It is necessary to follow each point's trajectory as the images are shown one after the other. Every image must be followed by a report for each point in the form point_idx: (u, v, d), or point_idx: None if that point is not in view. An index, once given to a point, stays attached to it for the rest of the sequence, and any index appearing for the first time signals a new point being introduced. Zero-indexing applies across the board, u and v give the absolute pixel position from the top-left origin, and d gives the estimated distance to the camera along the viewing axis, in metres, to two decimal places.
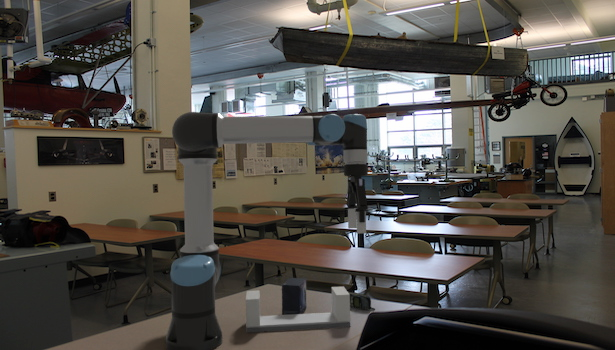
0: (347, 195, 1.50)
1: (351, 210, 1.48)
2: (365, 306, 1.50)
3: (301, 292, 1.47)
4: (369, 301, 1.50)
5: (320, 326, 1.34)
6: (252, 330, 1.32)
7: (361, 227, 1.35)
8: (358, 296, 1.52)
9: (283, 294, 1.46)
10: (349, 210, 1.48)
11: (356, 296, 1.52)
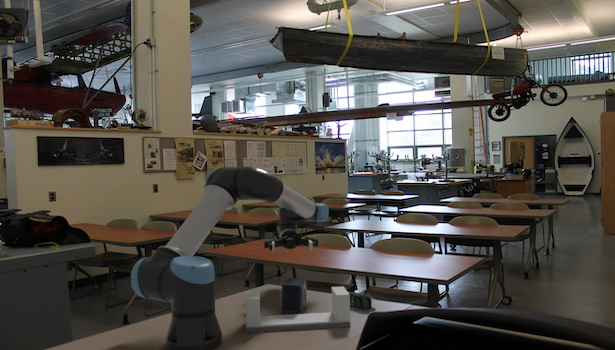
0: (269, 240, 1.70)
1: None
2: (366, 306, 1.50)
3: (301, 292, 1.47)
4: (369, 301, 1.50)
5: (320, 326, 1.34)
6: (252, 330, 1.32)
7: None
8: (359, 296, 1.52)
9: (283, 294, 1.46)
10: (274, 242, 1.65)
11: (357, 296, 1.52)
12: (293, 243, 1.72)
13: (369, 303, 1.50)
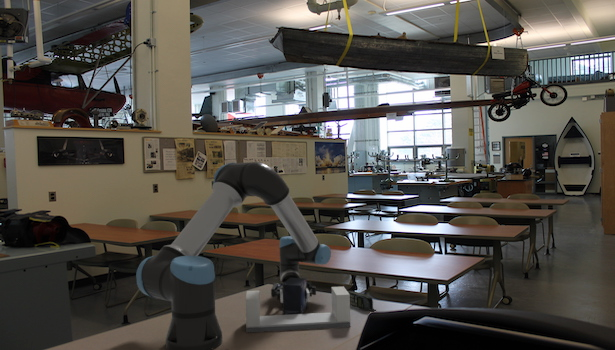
0: (273, 286, 1.56)
1: None
2: (367, 307, 1.50)
3: (302, 292, 1.47)
4: (370, 302, 1.49)
5: (320, 326, 1.34)
6: (252, 330, 1.32)
7: None
8: (361, 296, 1.52)
9: (284, 294, 1.46)
10: (282, 290, 1.51)
11: (359, 296, 1.52)
12: None
13: (370, 304, 1.49)
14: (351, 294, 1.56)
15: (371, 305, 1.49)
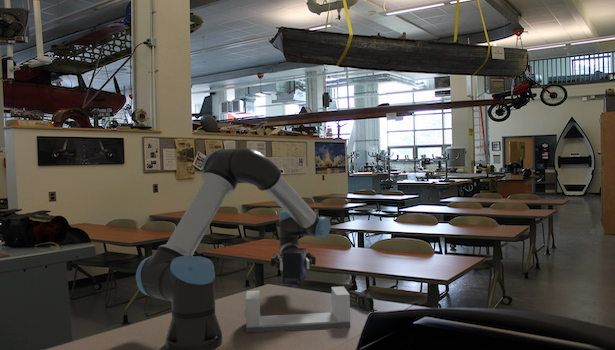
0: (273, 256, 1.56)
1: None
2: (367, 307, 1.49)
3: (301, 260, 1.47)
4: (371, 302, 1.49)
5: (320, 326, 1.34)
6: (252, 330, 1.32)
7: None
8: (362, 296, 1.52)
9: (284, 262, 1.46)
10: (281, 259, 1.51)
11: (360, 296, 1.52)
12: None
13: (370, 304, 1.49)
14: (353, 294, 1.57)
15: (372, 305, 1.49)
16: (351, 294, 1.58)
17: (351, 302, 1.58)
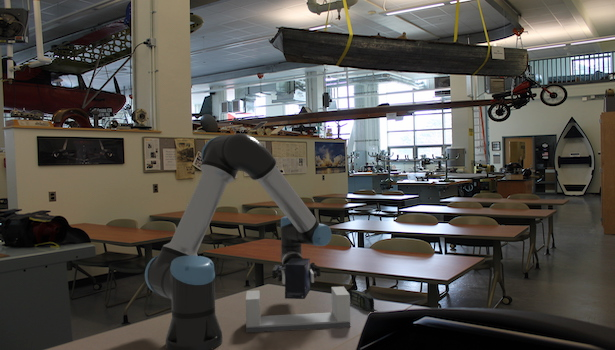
0: (275, 268, 1.44)
1: None
2: (368, 307, 1.49)
3: (306, 272, 1.35)
4: (371, 302, 1.49)
5: (320, 326, 1.34)
6: (252, 330, 1.32)
7: None
8: (362, 296, 1.52)
9: (286, 274, 1.34)
10: (284, 271, 1.39)
11: (361, 296, 1.52)
12: None
13: (370, 304, 1.48)
14: (355, 294, 1.57)
15: (372, 305, 1.49)
16: (353, 294, 1.58)
17: (353, 302, 1.58)
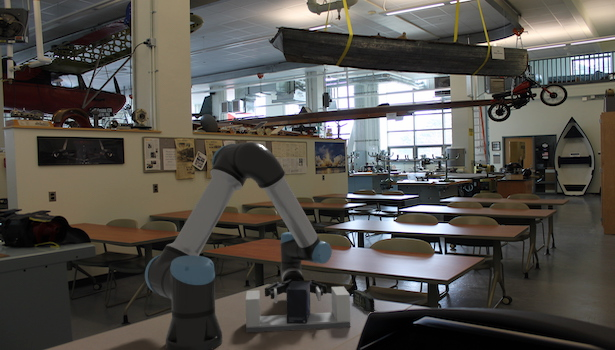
0: (270, 285, 1.45)
1: None
2: (368, 307, 1.49)
3: (307, 296, 1.35)
4: (371, 303, 1.48)
5: (320, 326, 1.34)
6: (252, 330, 1.32)
7: None
8: (363, 296, 1.51)
9: (288, 299, 1.33)
10: (276, 290, 1.40)
11: (362, 296, 1.52)
12: None
13: (371, 305, 1.48)
14: (357, 294, 1.57)
15: (372, 306, 1.48)
16: (356, 294, 1.58)
17: (356, 302, 1.58)
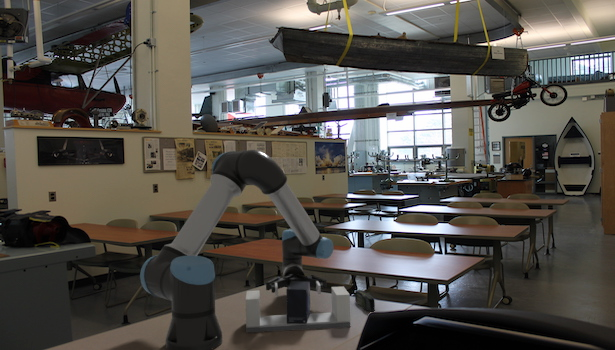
0: (271, 280, 1.52)
1: None
2: (368, 307, 1.49)
3: (307, 296, 1.35)
4: (371, 303, 1.48)
5: (320, 326, 1.34)
6: (252, 330, 1.32)
7: None
8: (364, 297, 1.51)
9: (288, 299, 1.33)
10: (277, 284, 1.47)
11: (363, 296, 1.52)
12: None
13: (371, 305, 1.48)
14: (359, 294, 1.57)
15: (372, 306, 1.48)
16: (358, 294, 1.58)
17: (358, 302, 1.58)
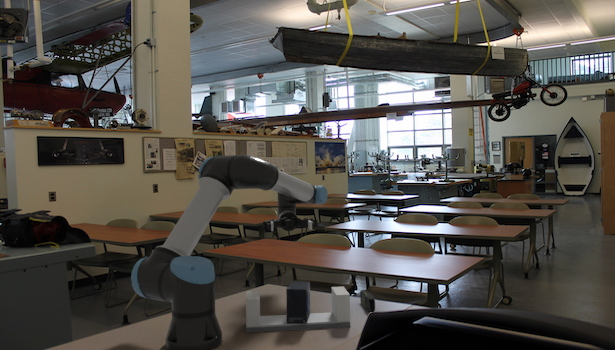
0: None
1: None
2: (368, 308, 1.48)
3: (307, 296, 1.35)
4: (371, 303, 1.47)
5: (320, 326, 1.34)
6: (252, 330, 1.32)
7: None
8: (365, 297, 1.51)
9: (288, 299, 1.33)
10: None
11: (365, 296, 1.52)
12: (292, 224, 1.69)
13: (370, 305, 1.47)
14: (363, 294, 1.56)
15: (372, 307, 1.47)
16: (362, 294, 1.58)
17: (362, 302, 1.58)
